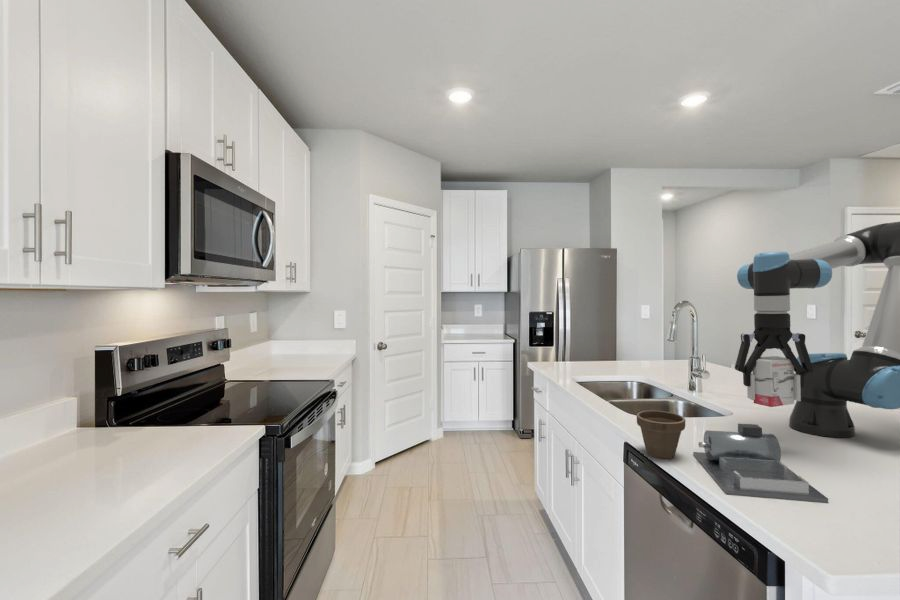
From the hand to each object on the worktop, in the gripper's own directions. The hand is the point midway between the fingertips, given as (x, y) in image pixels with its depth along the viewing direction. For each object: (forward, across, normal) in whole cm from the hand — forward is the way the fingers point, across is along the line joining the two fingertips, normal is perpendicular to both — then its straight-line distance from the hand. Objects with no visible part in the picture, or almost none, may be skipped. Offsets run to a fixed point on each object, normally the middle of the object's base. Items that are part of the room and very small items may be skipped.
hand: (773, 399), depth 115 cm
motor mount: (+14, +12, +17) cm, 25 cm away
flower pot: (+14, +29, +7) cm, 32 cm away
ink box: (+1, 0, 0) cm, 1 cm away
